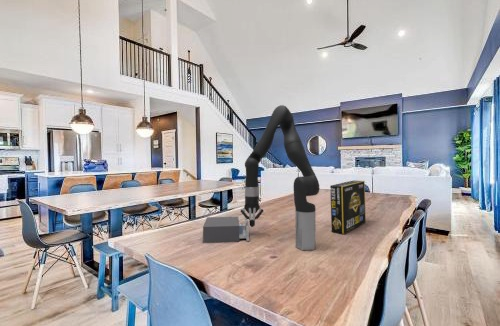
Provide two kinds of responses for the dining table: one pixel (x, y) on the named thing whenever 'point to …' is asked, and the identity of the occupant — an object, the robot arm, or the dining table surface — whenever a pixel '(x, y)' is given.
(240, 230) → the cartridge
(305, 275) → the dining table surface
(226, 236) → the housing
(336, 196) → the box
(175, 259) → the dining table surface
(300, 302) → the dining table surface
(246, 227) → the tray
